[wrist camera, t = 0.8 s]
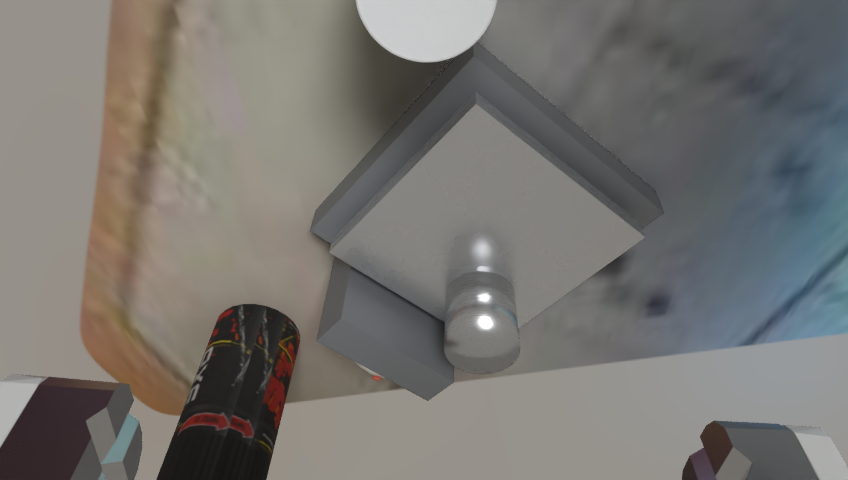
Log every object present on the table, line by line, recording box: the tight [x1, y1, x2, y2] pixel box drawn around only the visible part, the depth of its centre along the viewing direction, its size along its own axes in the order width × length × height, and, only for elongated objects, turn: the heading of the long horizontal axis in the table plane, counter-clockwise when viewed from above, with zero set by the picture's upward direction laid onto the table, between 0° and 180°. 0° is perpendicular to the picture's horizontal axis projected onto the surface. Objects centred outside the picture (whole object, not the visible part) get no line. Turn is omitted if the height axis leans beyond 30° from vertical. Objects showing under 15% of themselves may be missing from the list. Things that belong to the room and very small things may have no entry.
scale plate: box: [329, 92, 645, 328], centre depth 36 cm, size 12×12×1 cm
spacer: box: [444, 271, 520, 374], centre depth 37 cm, size 4×4×4 cm
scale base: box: [310, 42, 664, 401], centre depth 37 cm, size 17×14×7 cm
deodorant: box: [157, 304, 300, 480], centre depth 41 cm, size 6×6×15 cm
